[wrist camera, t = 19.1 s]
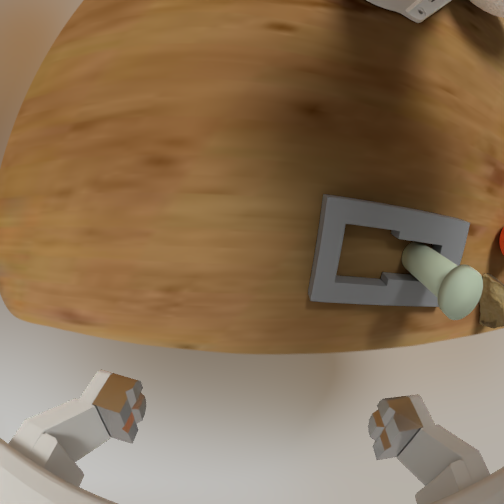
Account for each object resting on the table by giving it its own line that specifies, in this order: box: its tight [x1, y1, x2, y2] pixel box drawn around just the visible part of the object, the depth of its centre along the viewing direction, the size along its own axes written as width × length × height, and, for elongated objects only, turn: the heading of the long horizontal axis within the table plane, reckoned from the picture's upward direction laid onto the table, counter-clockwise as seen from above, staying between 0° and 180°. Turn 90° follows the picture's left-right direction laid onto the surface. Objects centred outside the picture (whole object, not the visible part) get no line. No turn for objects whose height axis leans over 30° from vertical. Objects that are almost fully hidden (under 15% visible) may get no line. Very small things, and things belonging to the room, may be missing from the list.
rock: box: [479, 273, 504, 328], centre depth 33 cm, size 10×8×10 cm
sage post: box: [402, 241, 483, 320], centre depth 28 cm, size 6×6×12 cm
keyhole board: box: [308, 194, 470, 307], centre depth 33 cm, size 22×13×2 cm, turn 85°
